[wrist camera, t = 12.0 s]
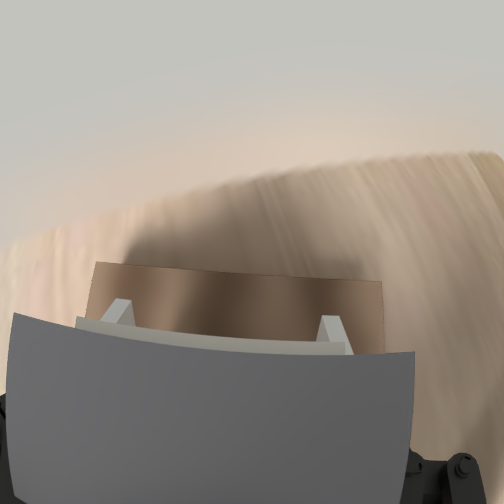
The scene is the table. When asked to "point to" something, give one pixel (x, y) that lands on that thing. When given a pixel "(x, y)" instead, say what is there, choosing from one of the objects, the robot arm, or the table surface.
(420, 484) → the robot arm
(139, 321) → the display block
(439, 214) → the table surface
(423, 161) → the table surface
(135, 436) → the tall slate rectangular prism
